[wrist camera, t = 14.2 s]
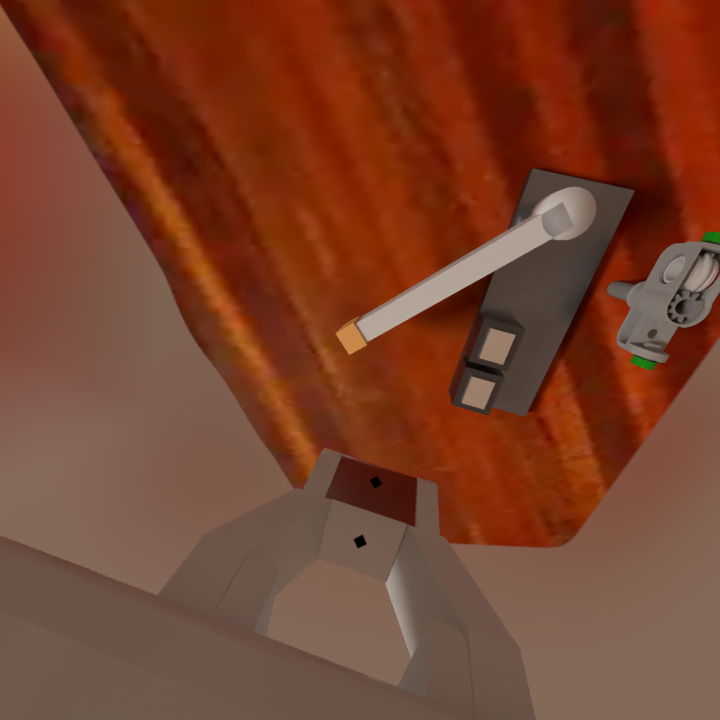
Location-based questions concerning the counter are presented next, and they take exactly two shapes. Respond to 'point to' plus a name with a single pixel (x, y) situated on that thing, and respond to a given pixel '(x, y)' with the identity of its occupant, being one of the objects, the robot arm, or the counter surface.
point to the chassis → (547, 284)
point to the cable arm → (478, 263)
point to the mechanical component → (668, 298)
